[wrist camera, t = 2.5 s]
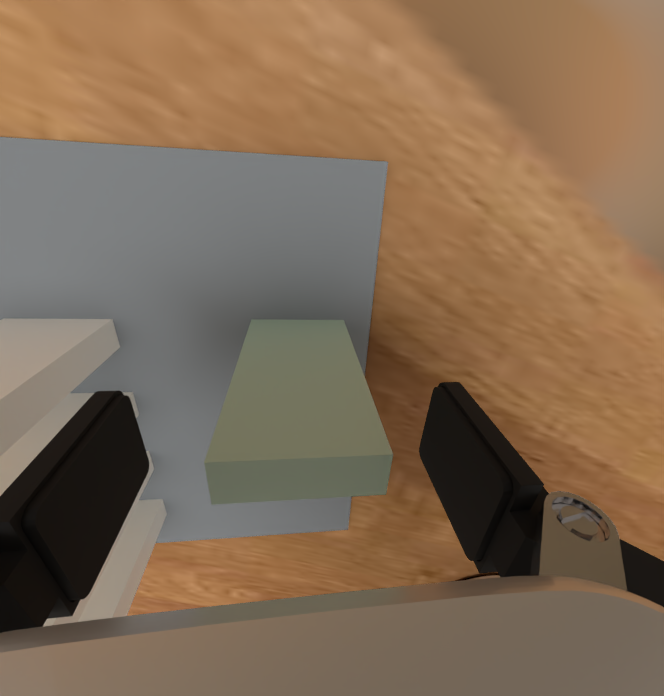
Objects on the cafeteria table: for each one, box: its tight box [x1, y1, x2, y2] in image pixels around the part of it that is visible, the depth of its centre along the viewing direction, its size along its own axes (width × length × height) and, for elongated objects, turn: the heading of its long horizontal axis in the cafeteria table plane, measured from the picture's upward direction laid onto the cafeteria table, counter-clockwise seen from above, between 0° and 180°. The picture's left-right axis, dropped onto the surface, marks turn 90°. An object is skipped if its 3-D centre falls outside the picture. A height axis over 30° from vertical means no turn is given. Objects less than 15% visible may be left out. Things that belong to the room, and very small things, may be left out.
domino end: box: [204, 319, 393, 505], centre depth 13 cm, size 2×5×10 cm, turn 87°
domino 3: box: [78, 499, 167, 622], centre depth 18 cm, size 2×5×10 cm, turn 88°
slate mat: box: [0, 137, 388, 543], centre depth 19 cm, size 26×21×1 cm
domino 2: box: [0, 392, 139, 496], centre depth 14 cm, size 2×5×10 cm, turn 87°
